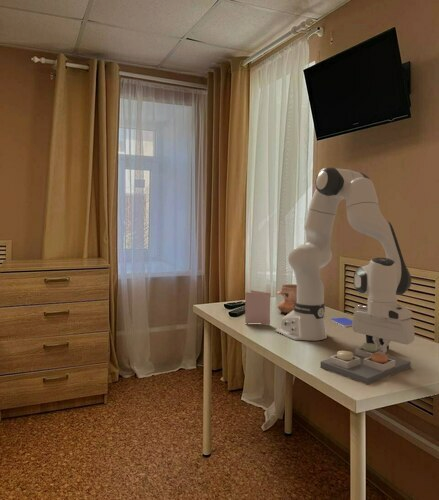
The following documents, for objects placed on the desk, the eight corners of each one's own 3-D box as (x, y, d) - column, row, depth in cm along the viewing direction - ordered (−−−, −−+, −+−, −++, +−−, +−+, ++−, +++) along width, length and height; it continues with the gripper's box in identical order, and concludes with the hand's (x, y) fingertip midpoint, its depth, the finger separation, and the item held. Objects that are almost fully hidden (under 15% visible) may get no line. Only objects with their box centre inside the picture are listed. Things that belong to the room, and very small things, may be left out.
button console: (320, 367, 141) (320, 355, 141) (363, 353, 156) (364, 342, 155) (367, 384, 127) (367, 371, 127) (410, 367, 141) (410, 355, 141)
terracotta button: (367, 360, 137) (368, 354, 137) (376, 357, 140) (376, 351, 140) (381, 365, 133) (381, 359, 133) (390, 361, 136) (390, 355, 136)
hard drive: (360, 323, 194) (345, 317, 206) (344, 324, 192) (330, 318, 204) (360, 326, 195) (345, 320, 207) (344, 328, 193) (330, 321, 204)
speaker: (380, 343, 166) (379, 318, 165) (389, 349, 161) (388, 323, 159) (362, 347, 165) (361, 321, 163) (371, 352, 159) (370, 326, 157)
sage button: (359, 350, 148) (359, 344, 148) (368, 347, 151) (368, 342, 151) (372, 354, 144) (372, 348, 144) (380, 351, 147) (381, 345, 147)
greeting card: (271, 324, 196) (271, 293, 195) (261, 328, 191) (261, 295, 189) (251, 320, 204) (252, 289, 203) (241, 323, 199) (242, 292, 197)
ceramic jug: (279, 316, 212) (280, 288, 211) (273, 309, 227) (273, 283, 225) (314, 316, 214) (315, 288, 213) (305, 309, 229) (306, 283, 227)
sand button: (334, 358, 140) (334, 352, 140) (343, 355, 143) (343, 349, 143) (346, 362, 136) (346, 356, 136) (356, 359, 139) (356, 353, 139)
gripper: (348, 305, 142) (348, 345, 143) (406, 316, 126) (405, 361, 127) (359, 302, 146) (359, 342, 147) (417, 313, 129) (416, 357, 130)
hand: (381, 351), depth 137 cm, fingers closed
